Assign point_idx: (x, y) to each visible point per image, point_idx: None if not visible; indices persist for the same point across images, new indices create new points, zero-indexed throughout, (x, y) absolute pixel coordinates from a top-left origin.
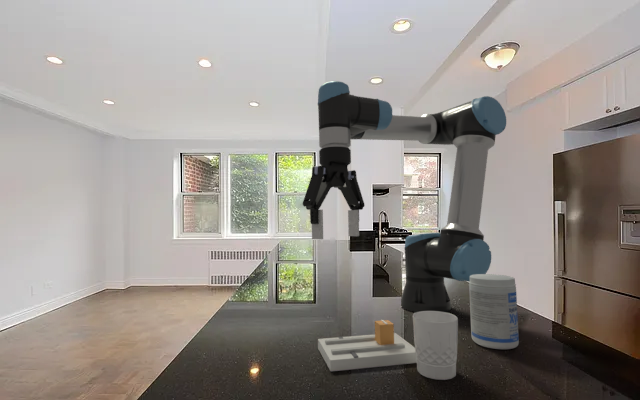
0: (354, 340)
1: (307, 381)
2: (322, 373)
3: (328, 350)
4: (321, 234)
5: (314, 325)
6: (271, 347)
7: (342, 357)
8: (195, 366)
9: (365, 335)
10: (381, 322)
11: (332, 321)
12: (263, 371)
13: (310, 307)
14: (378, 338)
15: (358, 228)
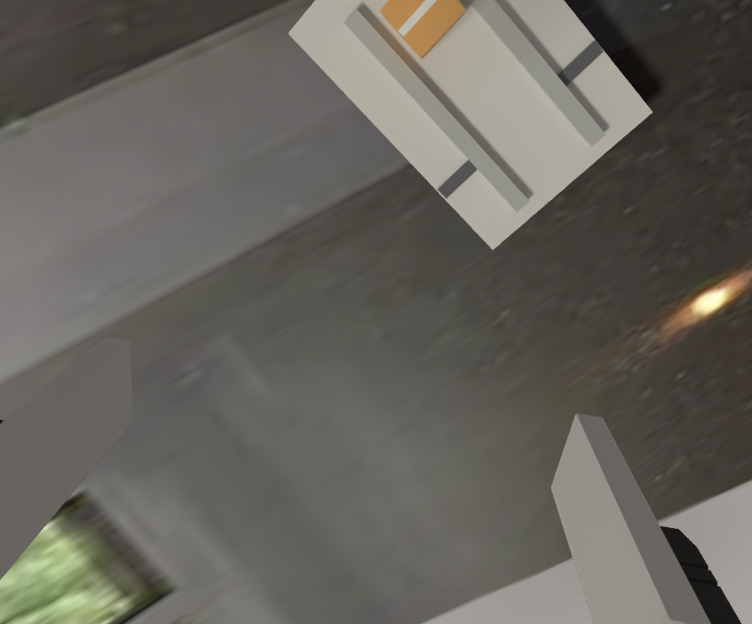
0: (461, 125)
1: (727, 133)
2: (661, 125)
3: (576, 162)
4: (608, 438)
5: (302, 365)
6: (545, 362)
7: (614, 89)
8: (743, 437)
9: (378, 123)
10: (427, 20)
11: (228, 337)
12: (709, 276)
13: (137, 480)
14: (448, 30)
15: (74, 371)
